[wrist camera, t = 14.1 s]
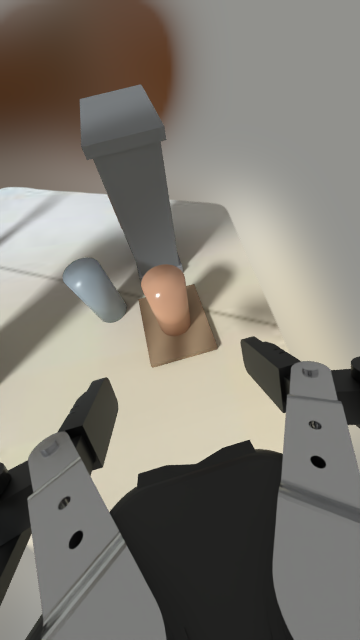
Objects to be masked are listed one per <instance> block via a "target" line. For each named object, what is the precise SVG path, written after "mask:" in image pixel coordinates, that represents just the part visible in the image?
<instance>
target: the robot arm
mask: <svg viewBox="0 0 360 640" xmlns="http://www.w3.org/2000/svg"><path fill="white" fill-rule="evenodd" d="M241 348H242V354H243V360H244V365H245V368H246V370H247V372H248V374H249V375H250V376H251V377H252V378H253V379H254V380H255V381H256V383H257V384H258V385H259V386H260V387H261V388H262V389H263V391H264V392H265V393H266V394H267V395H268V396H269V397H270V398H271V400H272V401H273V402H274V403H275V404H276V405H277V406H278V408H279V409H280V410H281V411H282V412H283V413H285V412H286V420H285V434H284V448H283V454H282V453H278V452H275V451H270V450H263V449H254V447H253V445H252V444H251V442H250V440H247V441H244V442H240V443H237V444H234V445H231V446H227V447H224V448H222V449H220V450H219V451H217V452H215V453H214V454H212V455H210V456H209V457H207V458H206V459H204V460H202V461H201V462H199V463H197V464H190V465H166V466H163V467H159V468H156V469H153V470H150V471H146V472H143V473H140V474H138V483H137V487H135V488H134V489H132V490H131V491H130V492H128V493H127V494H126V495H125V496H124V497H123V498H122V499H121V500H120V501H119V502H118V503H117V504H116V505H115V506H114V507H113V508H112V510H111V511H110V512H109V511H108V509H107V507H106V505H105V503H104V501H103V500H102V498H101V496H100V494H99V492H98V490H97V488H96V486H95V484H94V482H93V481H92V479H91V477H90V476H91V472H92V470H96V469H99V468H102V467H103V465H104V461H105V457H106V454H107V450H108V446H109V443H110V439H111V435H112V431H113V428H114V424H115V420H116V417H117V413H118V402H117V398H116V396H115V393H114V391H113V388H112V386H111V384H110V381H109V379H108V378H107V377H106V378H102V379H99V380H95V381H93V382H92V383H91V385H90V387H89V388H88V390H87V392H85V393H84V394H83V395H82V396H80V397H79V398H78V399H77V401H76V403H75V404H74V406H73V408H72V409H71V411H70V414H68V416H67V418H66V419H65V421H64V422H63V424H62V426H61V427H60V429H59V431H58V432H57V433H55V434H53V435H51V436H49V437H47V438H46V439H44V440H43V441H42V442H40V443H39V444H38V445H37V446H36V447H35V448H34V449H33V451H32V452H31V454H30V455H29V458H28V461H26V462H24V463H22V464H20V465H18V466H16V467H14V468H12V469H10V470H7V469H6V467H5V466H4V464H3V463H0V605H1V603H2V601H3V599H4V596H5V594H6V592H7V589H8V587H9V584H10V582H11V580H12V577H13V575H14V573H15V570H16V568H17V566H18V563H19V561H20V559H21V557H22V554H23V552H24V550H25V548H26V545H27V543H28V541H29V538H30V536H31V534H32V538H33V546H34V553H35V560H36V568H37V576H38V583H39V590H40V598H41V606H42V615H41V616H40V618H39V619H38V621H37V623H36V624H35V625H34V627H33V629H32V630H31V632H30V633H29V635H28V636H27V638H26V639H25V640H360V473H359V469H358V465H357V461H356V457H355V453H354V449H353V445H352V441H351V438H350V433H349V429H348V425H356V426H357V427H359V428H360V357H356V358H354V359H353V360H352V361H351V369H343V370H330V369H329V368H328V367H327V366H325V365H323V364H321V363H317V362H311V361H303V362H301V361H300V360H298V359H297V358H295V357H293V356H292V355H290V354H289V353H287V352H285V351H284V350H282V349H280V348H279V347H278V346H276V345H275V344H272V343H268V342H262V341H260V340H259V339H257V338H256V337H254V336H253V337H249V338H246V339H242V340H241Z"/></svg>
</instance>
